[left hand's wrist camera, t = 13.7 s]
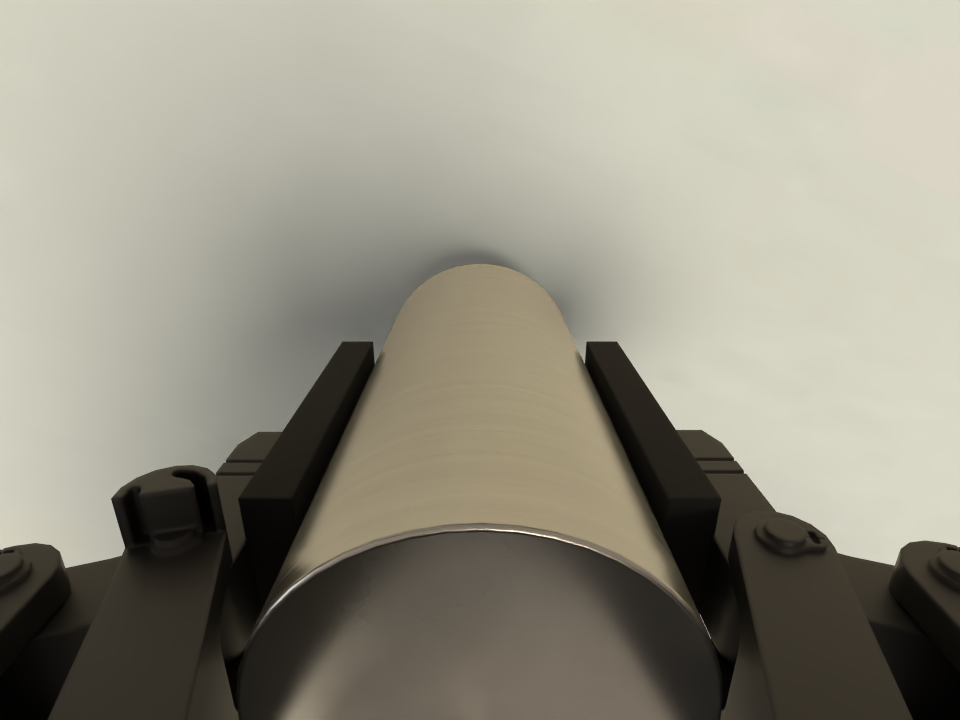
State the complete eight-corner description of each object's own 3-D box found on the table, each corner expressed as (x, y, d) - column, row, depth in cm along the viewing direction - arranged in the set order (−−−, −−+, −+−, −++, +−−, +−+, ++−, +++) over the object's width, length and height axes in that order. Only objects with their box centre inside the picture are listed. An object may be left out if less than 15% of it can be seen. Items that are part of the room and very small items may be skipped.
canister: (463, 224, 15) (425, 422, 5) (605, 336, 17) (829, 694, 6) (356, 365, 17) (148, 752, 6) (494, 458, 18) (514, 915, 8)
